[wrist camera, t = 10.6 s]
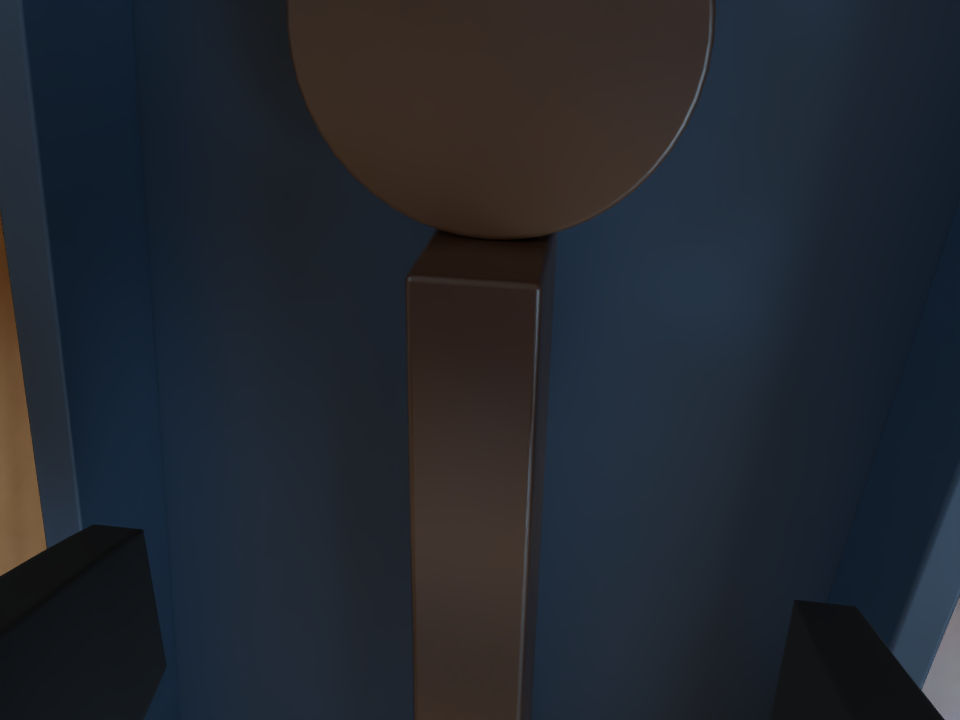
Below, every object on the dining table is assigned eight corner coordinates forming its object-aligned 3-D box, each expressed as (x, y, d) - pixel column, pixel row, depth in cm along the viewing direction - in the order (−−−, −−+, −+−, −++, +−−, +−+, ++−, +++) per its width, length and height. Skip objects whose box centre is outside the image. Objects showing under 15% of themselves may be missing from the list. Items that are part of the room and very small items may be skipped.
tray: (1203, -431, 9) (1444, -583, 7) (737, 929, 19) (755, 1100, 16) (75, -504, 10) (-123, -662, 8) (174, 817, 20) (101, 959, 17)
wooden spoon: (614, 834, 18) (613, 972, 15) (359, 799, 18) (320, 927, 16) (733, -206, 10) (765, -247, 8) (302, -206, 11) (214, -244, 9)
